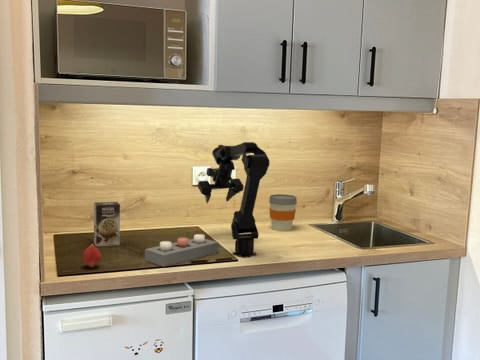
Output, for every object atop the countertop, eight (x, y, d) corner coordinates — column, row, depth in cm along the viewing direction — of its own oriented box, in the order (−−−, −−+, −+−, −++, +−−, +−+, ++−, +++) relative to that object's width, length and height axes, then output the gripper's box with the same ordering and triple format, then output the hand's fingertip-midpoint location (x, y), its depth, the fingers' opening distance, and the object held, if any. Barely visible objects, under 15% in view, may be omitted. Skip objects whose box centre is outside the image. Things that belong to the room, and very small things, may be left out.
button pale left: (173, 251, 181) (173, 242, 181) (164, 253, 178) (164, 244, 178) (166, 248, 184) (166, 240, 183) (157, 250, 181) (157, 242, 180)
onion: (79, 268, 170) (78, 244, 168) (90, 263, 175) (89, 240, 174) (93, 271, 168) (93, 247, 166) (104, 266, 173) (104, 242, 172)
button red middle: (190, 247, 187) (190, 239, 186) (182, 249, 184) (182, 240, 184) (183, 244, 190) (183, 236, 189) (175, 246, 187) (175, 238, 186)
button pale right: (206, 243, 193) (207, 235, 192) (198, 245, 190) (199, 237, 189) (199, 241, 195) (199, 233, 195) (191, 243, 192) (191, 235, 192)
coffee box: (96, 246, 196) (95, 205, 194) (93, 242, 202) (93, 202, 199) (120, 245, 199) (120, 204, 197) (117, 241, 205) (117, 201, 203)
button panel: (217, 252, 193) (218, 242, 193) (163, 266, 174) (163, 255, 174) (199, 247, 200) (199, 237, 200) (145, 260, 181) (145, 249, 181)
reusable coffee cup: (262, 228, 236) (263, 195, 234) (280, 224, 245) (282, 193, 243) (282, 233, 227) (284, 199, 225) (301, 229, 236) (302, 197, 234)
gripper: (237, 159, 219) (229, 188, 228) (196, 161, 210) (190, 191, 219) (248, 175, 211) (239, 204, 220) (205, 178, 203) (198, 208, 212)
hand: (216, 201), depth 218 cm, fingers open, 9 cm apart
